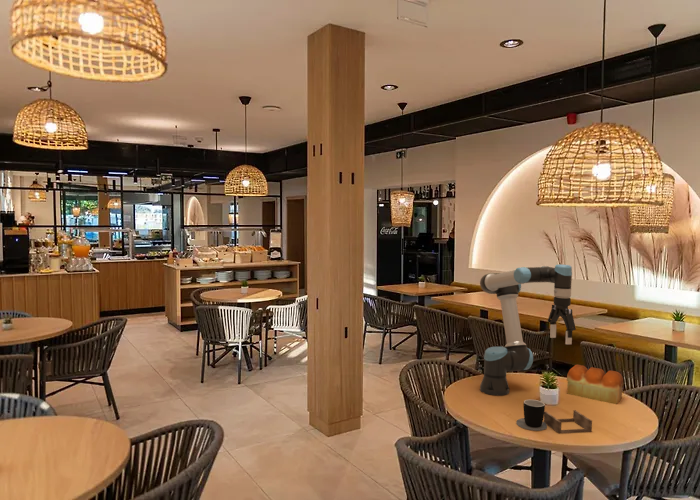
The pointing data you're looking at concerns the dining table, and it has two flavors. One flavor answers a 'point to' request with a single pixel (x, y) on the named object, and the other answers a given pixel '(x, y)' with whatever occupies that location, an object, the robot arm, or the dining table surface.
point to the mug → (534, 413)
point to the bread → (595, 384)
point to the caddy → (577, 418)
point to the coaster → (522, 424)
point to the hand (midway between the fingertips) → (560, 340)
